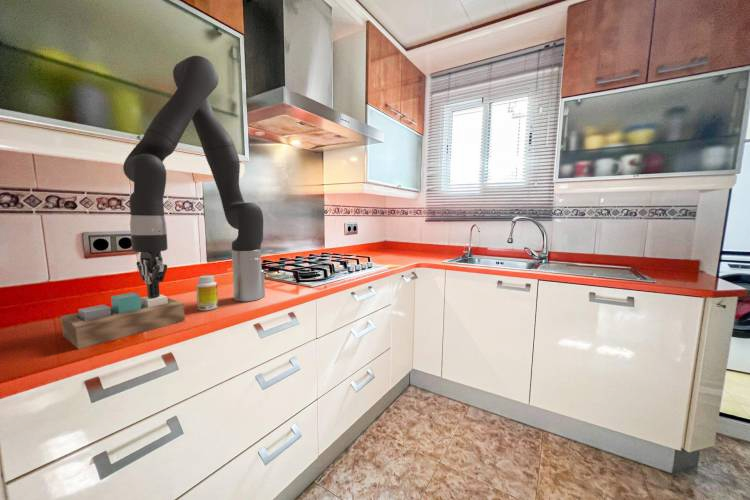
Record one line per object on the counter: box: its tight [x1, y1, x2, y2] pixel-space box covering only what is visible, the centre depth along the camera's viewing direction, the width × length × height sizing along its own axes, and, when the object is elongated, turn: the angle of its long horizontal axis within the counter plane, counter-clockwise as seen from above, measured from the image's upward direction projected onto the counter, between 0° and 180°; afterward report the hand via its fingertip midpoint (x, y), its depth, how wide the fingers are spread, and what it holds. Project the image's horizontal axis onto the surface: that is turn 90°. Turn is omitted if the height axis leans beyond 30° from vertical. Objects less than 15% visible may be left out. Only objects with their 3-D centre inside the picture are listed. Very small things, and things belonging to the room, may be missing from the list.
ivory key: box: [140, 293, 169, 308], centre depth 79 cm, size 4×4×4 cm
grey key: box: [78, 304, 111, 321], centre depth 69 cm, size 4×4×4 cm
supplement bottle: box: [195, 274, 219, 312], centre depth 91 cm, size 6×6×10 cm
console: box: [60, 297, 186, 350], centre depth 75 cm, size 21×12×5 cm, turn 147°
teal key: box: [110, 292, 142, 314], centre depth 74 cm, size 4×4×4 cm
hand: (153, 297), depth 79 cm, fingers closed
